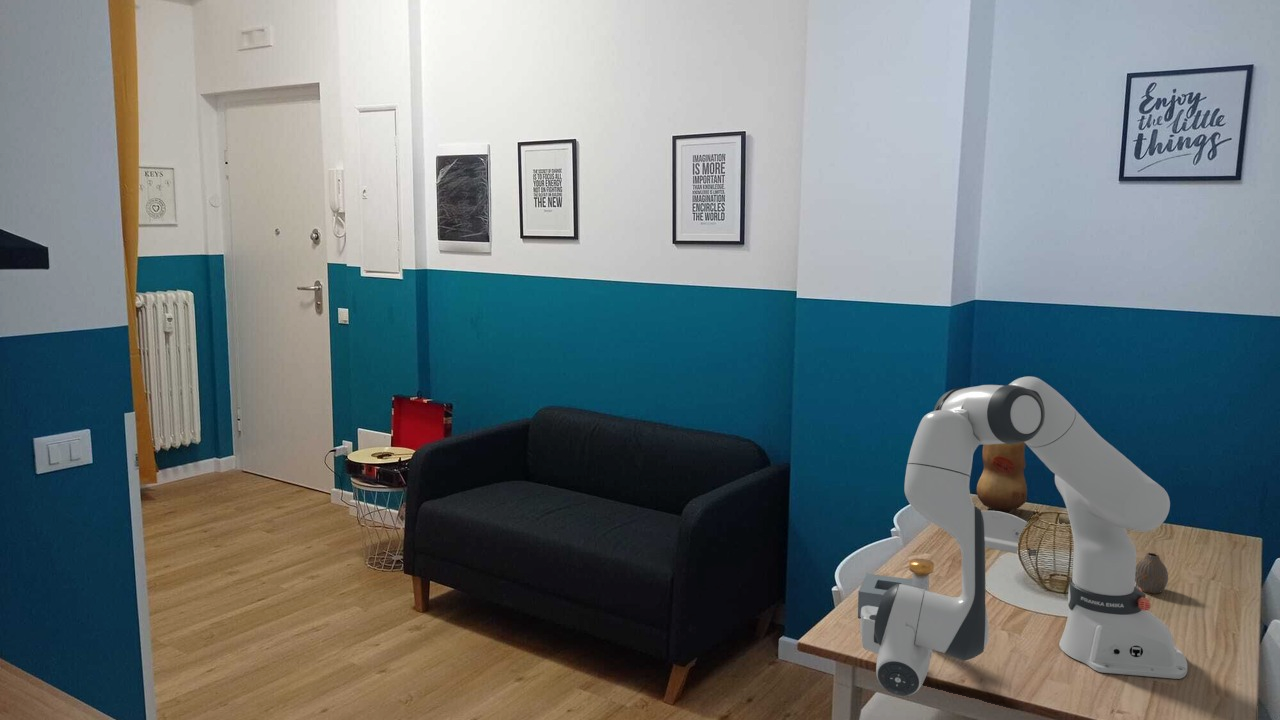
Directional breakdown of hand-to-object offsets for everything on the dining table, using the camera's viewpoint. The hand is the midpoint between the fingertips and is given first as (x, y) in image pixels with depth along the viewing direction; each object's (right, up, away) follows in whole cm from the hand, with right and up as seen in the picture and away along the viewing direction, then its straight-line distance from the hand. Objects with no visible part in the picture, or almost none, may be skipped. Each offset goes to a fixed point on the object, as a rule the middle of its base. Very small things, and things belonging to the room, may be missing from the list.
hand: (917, 610), depth 183 cm
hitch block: (-1, -6, +20) cm, 21 cm away
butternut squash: (+51, +5, +88) cm, 102 cm away
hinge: (+40, +1, +61) cm, 73 cm away
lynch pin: (+3, -8, +7) cm, 11 cm away
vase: (+63, -4, +30) cm, 70 cm away
